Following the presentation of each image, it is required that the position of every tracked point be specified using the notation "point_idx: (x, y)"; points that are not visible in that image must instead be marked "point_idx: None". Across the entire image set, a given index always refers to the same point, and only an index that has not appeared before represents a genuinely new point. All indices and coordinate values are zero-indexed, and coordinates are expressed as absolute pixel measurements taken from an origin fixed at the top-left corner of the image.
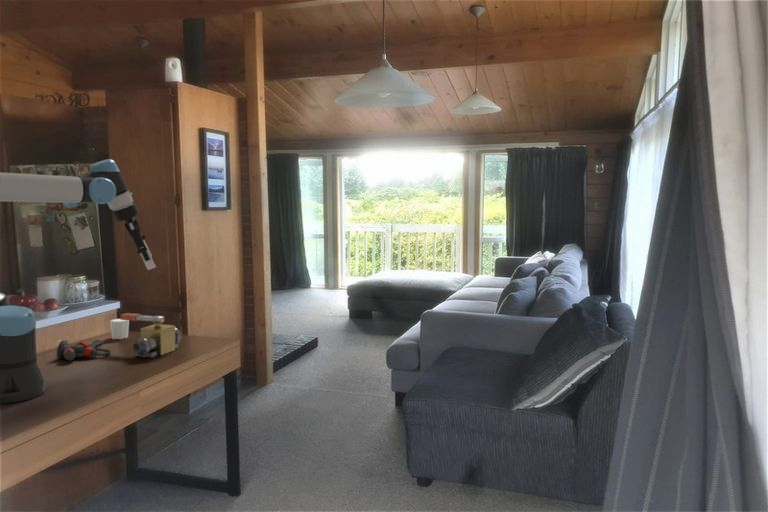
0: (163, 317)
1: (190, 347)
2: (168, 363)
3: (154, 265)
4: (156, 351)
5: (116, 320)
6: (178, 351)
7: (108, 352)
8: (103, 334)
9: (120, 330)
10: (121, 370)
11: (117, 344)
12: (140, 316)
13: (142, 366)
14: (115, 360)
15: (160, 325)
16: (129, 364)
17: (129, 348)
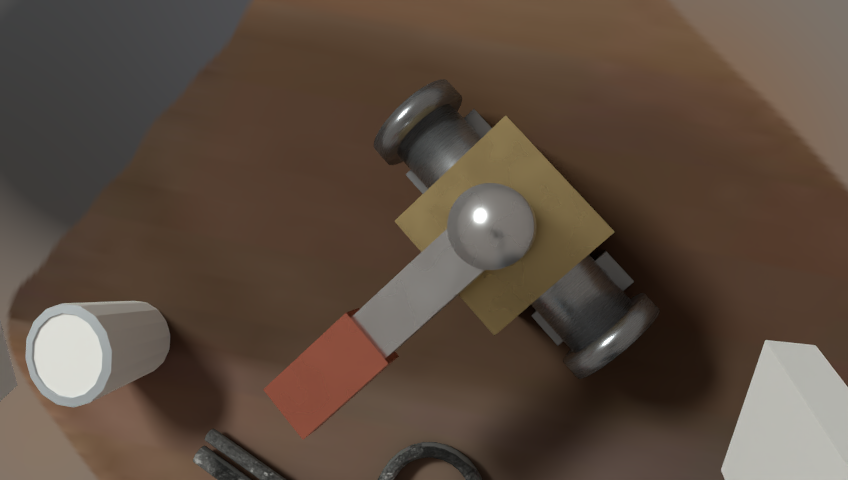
0: (514, 190)
1: (498, 52)
2: (788, 225)
3: (834, 386)
4: (607, 253)
5: (67, 371)
6: (553, 127)
7: (463, 463)
8: None
9: (142, 350)
10: None
11: (263, 374)
12: (400, 328)
13: None
14: (578, 448)
15: None
16: (697, 405)
17: None
